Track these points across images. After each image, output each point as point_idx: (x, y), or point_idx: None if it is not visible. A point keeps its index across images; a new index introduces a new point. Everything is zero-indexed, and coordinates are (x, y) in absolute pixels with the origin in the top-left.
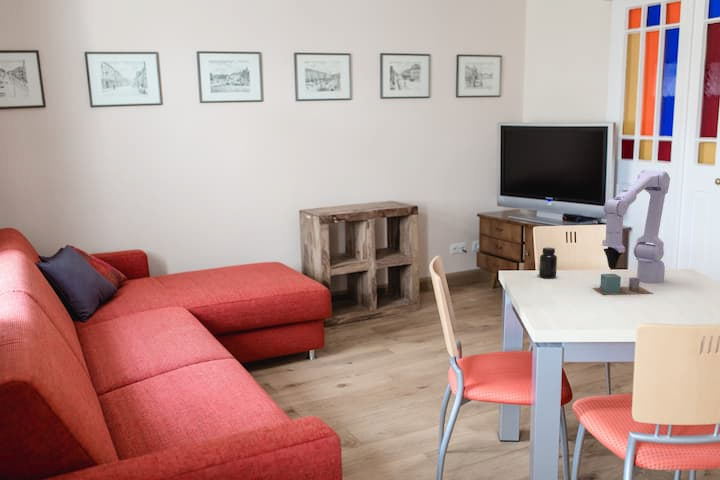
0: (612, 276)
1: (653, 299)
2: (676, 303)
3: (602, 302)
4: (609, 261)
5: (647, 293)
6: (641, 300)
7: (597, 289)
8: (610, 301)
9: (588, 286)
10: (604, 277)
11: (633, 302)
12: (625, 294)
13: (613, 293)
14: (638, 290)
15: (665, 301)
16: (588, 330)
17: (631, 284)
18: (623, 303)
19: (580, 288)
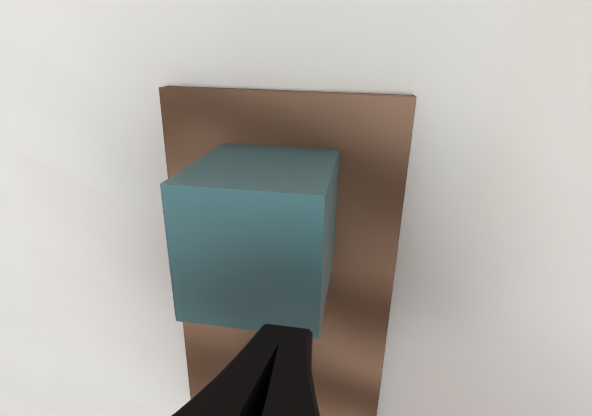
0: (195, 256)
1: (127, 358)
2: (60, 407)
3: (31, 12)
4: (228, 379)
5: (201, 385)
6: (103, 291)
7: (347, 128)
8: (64, 89)
9: (544, 130)
10: (231, 183)
11: (56, 225)
12: None
13: None
14: None
15: (92, 386)
16: None
17: None
18: (25, 153)
19: (497, 15)
